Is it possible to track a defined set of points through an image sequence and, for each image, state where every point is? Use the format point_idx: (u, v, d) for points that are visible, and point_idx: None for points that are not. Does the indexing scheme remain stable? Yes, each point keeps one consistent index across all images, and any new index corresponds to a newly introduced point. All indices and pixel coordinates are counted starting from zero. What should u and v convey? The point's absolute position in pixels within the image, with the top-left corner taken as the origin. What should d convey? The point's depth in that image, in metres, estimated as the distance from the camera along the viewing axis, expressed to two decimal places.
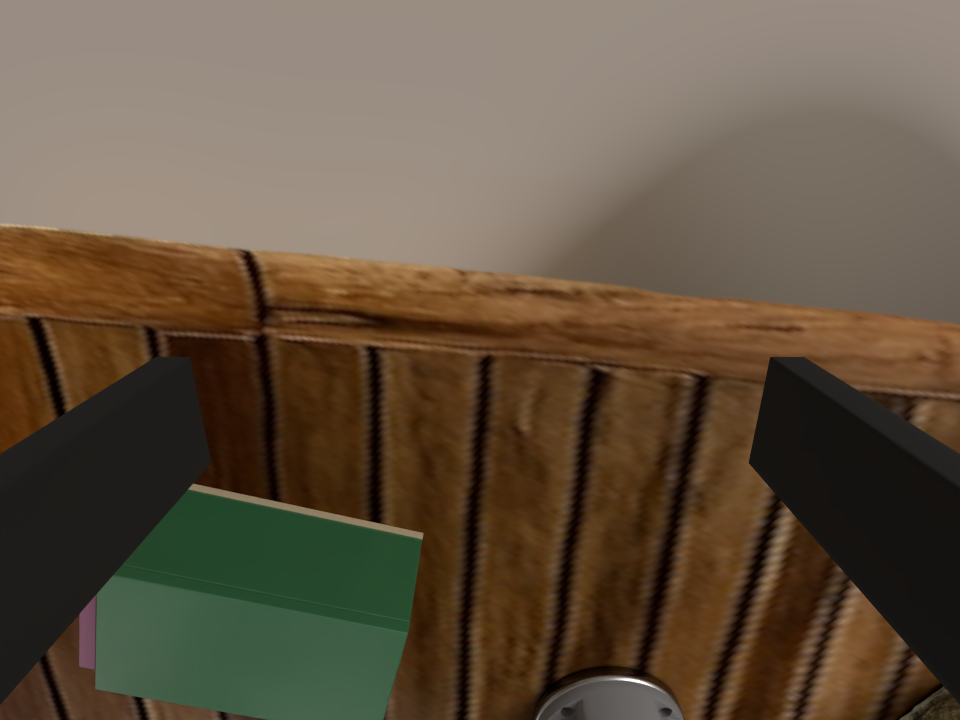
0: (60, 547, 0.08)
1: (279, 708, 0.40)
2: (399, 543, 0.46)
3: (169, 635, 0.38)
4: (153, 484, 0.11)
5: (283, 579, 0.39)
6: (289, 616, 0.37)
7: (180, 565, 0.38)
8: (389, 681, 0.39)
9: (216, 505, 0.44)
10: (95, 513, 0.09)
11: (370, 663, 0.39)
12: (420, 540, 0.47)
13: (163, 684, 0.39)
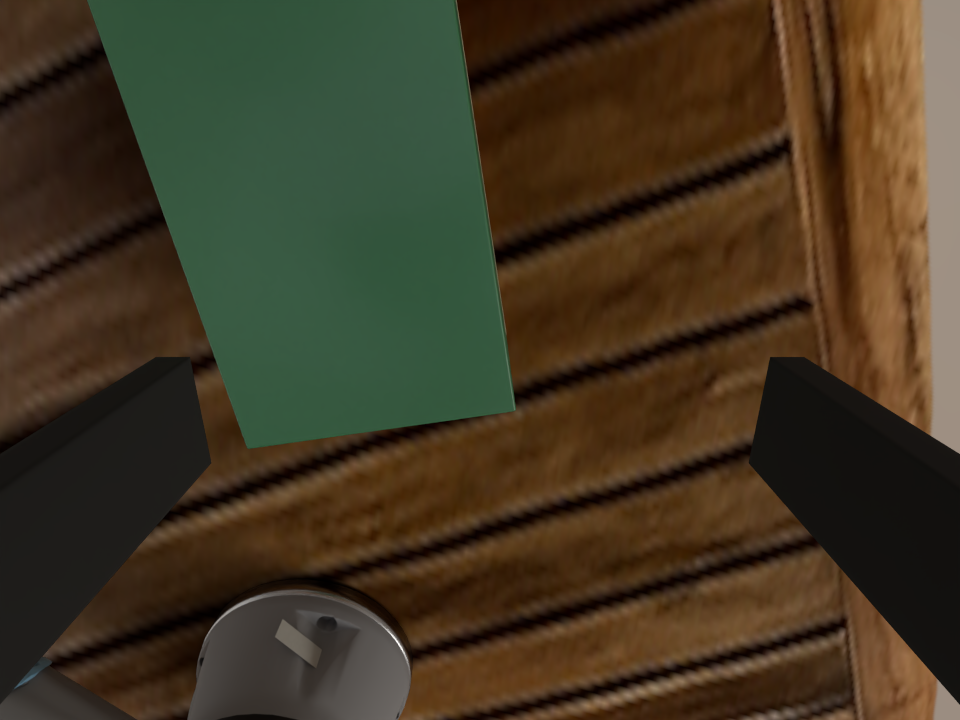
0: (60, 547, 0.08)
1: (220, 259, 0.19)
2: None
3: None
4: (153, 484, 0.11)
5: (478, 158, 0.21)
6: (468, 203, 0.19)
7: None
8: (394, 421, 0.22)
9: None
10: (94, 513, 0.09)
11: (420, 378, 0.21)
12: None
13: None
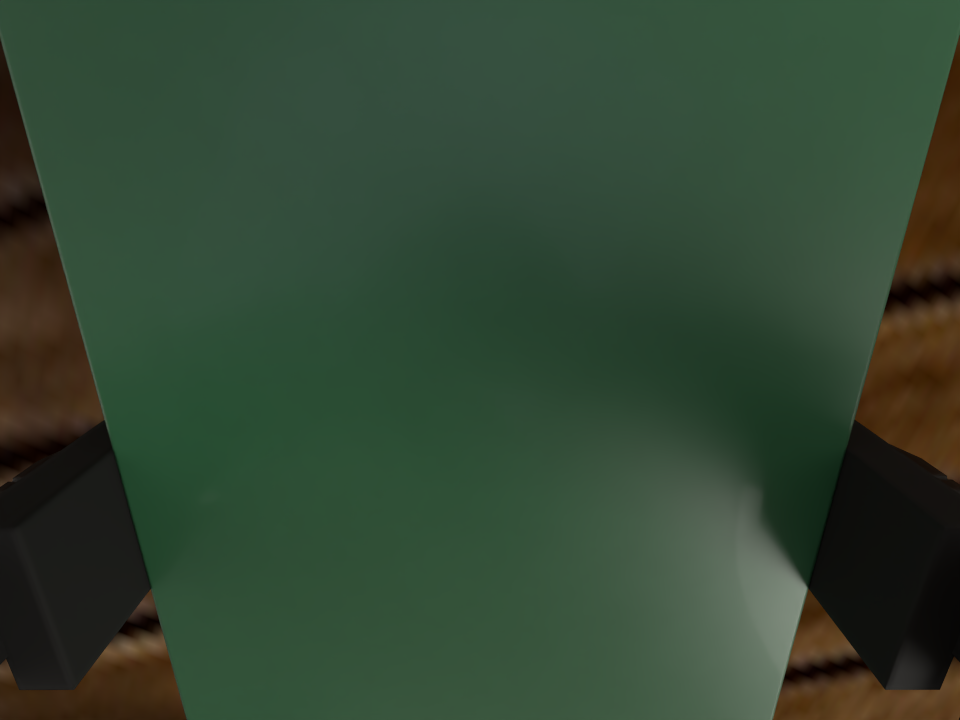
0: None
1: (191, 357, 0.08)
2: None
3: None
4: None
5: None
6: (842, 324, 0.07)
7: None
8: None
9: None
10: None
11: (595, 654, 0.10)
12: None
13: None
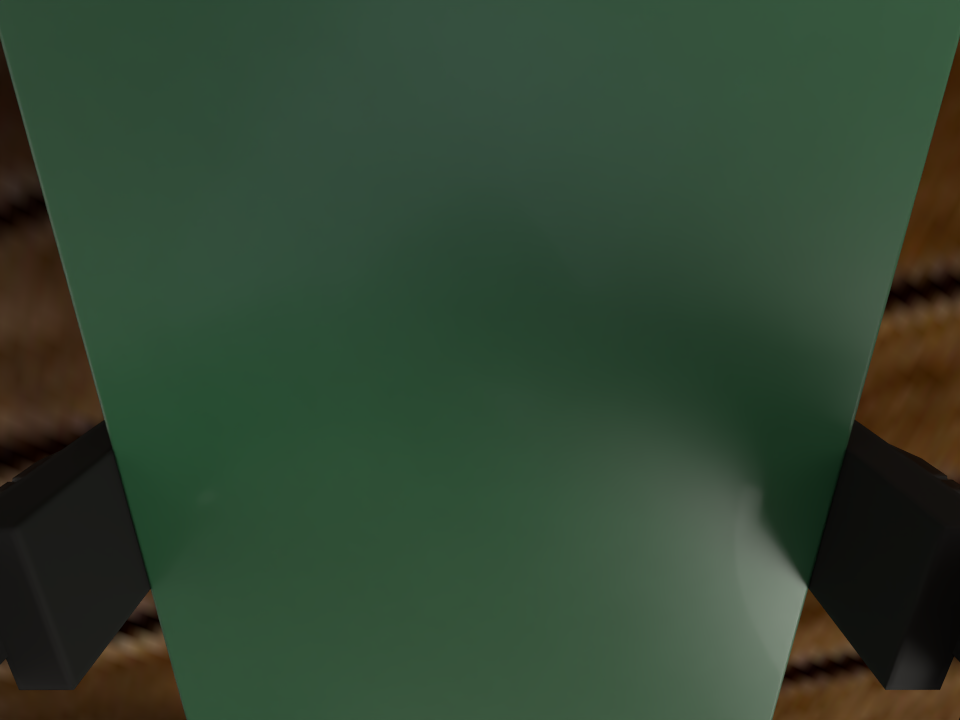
0: None
1: (192, 358, 0.08)
2: None
3: None
4: None
5: None
6: (842, 324, 0.07)
7: None
8: None
9: None
10: None
11: (595, 655, 0.10)
12: None
13: None
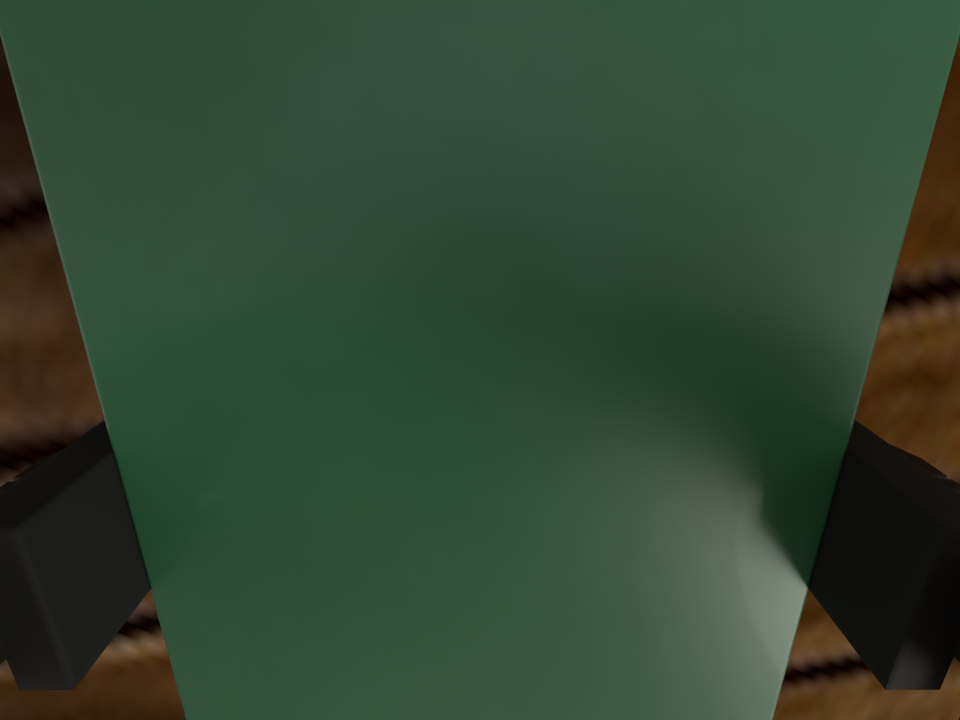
0: None
1: (192, 357, 0.08)
2: None
3: None
4: None
5: None
6: (842, 324, 0.07)
7: None
8: None
9: None
10: None
11: (595, 655, 0.10)
12: None
13: None
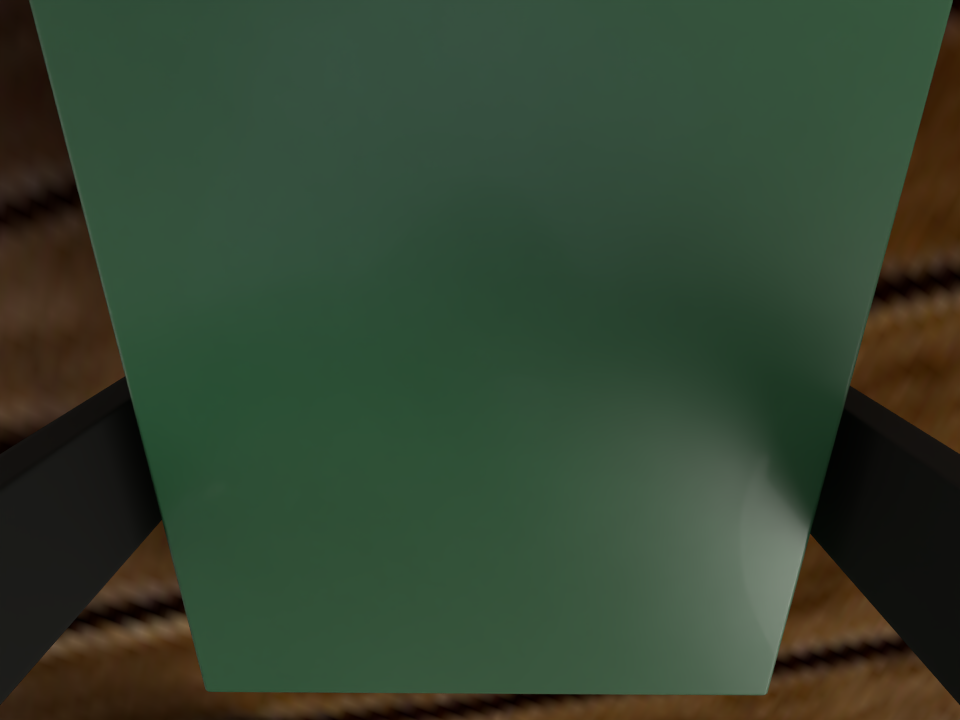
0: (60, 547, 0.08)
1: (210, 324, 0.08)
2: None
3: None
4: None
5: None
6: (838, 291, 0.08)
7: None
8: (520, 684, 0.11)
9: None
10: (95, 513, 0.09)
11: (598, 617, 0.10)
12: None
13: None
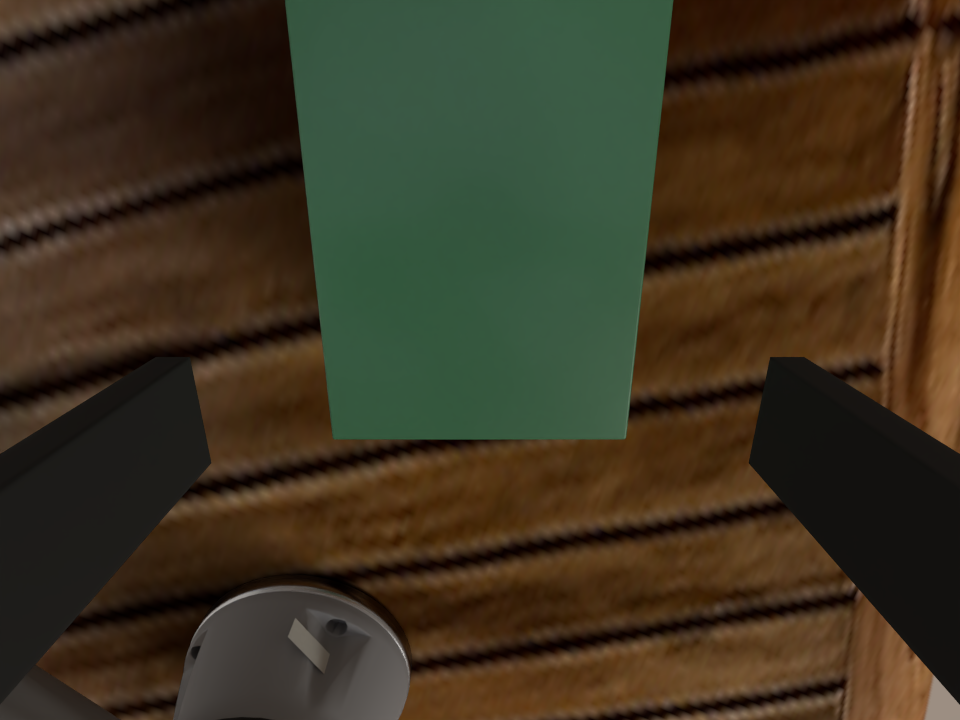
0: (60, 547, 0.08)
1: (355, 234, 0.18)
2: None
3: None
4: (153, 484, 0.11)
5: None
6: (633, 218, 0.18)
7: None
8: (497, 432, 0.20)
9: None
10: (94, 513, 0.09)
11: (536, 391, 0.20)
12: None
13: None
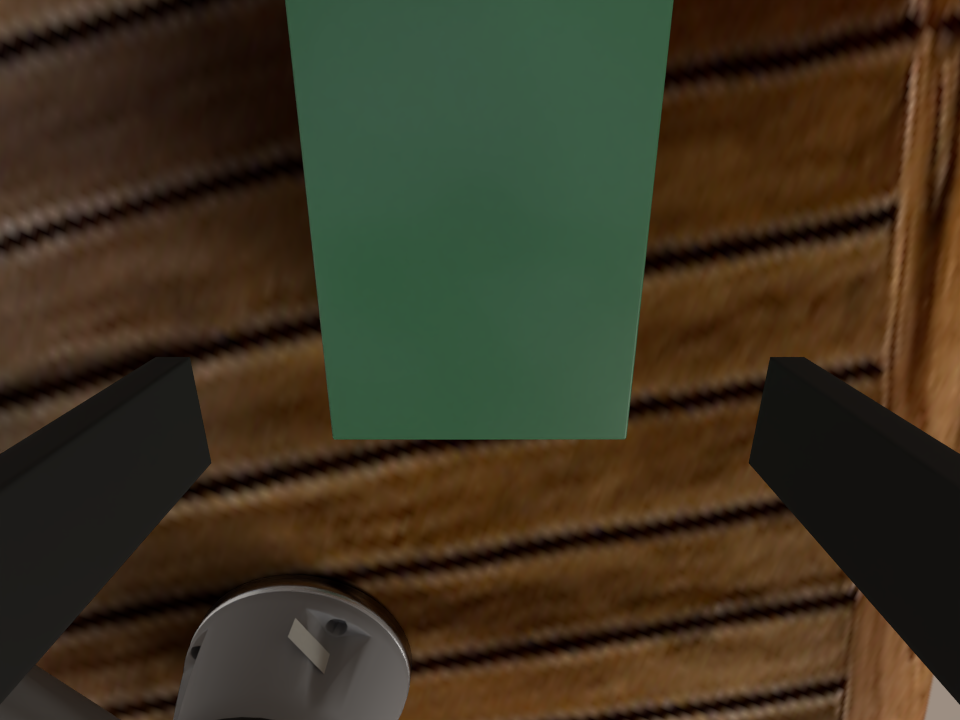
0: (60, 547, 0.08)
1: (355, 234, 0.18)
2: None
3: None
4: (153, 484, 0.11)
5: None
6: (633, 218, 0.18)
7: None
8: (497, 432, 0.20)
9: None
10: (94, 513, 0.09)
11: (536, 391, 0.20)
12: None
13: None
